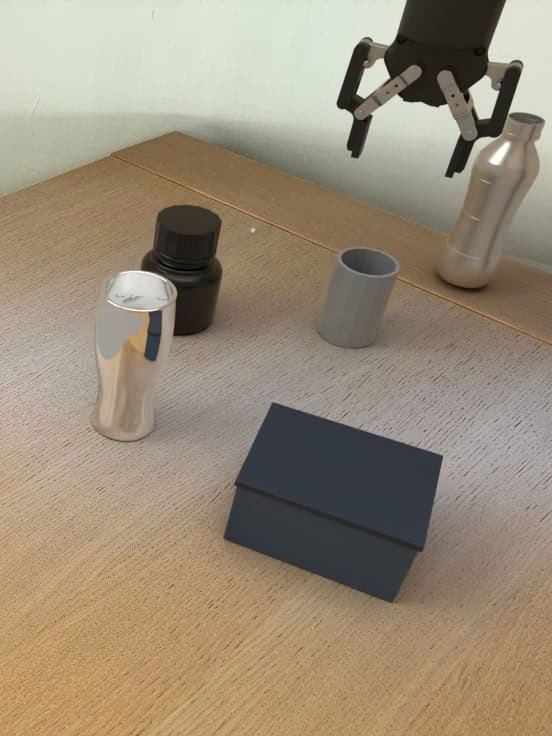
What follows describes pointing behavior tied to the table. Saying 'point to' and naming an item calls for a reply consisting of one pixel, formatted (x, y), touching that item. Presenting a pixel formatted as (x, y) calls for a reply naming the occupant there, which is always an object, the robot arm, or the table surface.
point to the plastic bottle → (492, 202)
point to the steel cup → (357, 296)
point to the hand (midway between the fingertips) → (401, 164)
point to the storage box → (334, 500)
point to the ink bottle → (188, 262)
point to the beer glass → (131, 350)
